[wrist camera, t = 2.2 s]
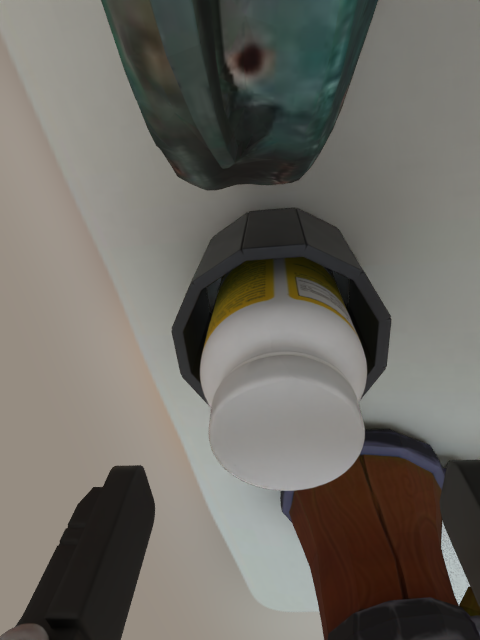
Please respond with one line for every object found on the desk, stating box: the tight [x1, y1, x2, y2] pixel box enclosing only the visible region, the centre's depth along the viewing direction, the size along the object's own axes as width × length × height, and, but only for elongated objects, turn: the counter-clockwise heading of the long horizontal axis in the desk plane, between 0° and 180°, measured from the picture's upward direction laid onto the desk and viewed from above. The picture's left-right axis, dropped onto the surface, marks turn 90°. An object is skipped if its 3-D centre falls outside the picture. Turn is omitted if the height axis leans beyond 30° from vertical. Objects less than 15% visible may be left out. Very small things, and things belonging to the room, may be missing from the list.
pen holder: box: [172, 208, 391, 405], centre depth 18 cm, size 9×9×6 cm
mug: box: [280, 429, 480, 640], centre depth 21 cm, size 18×12×15 cm, turn 104°
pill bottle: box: [200, 257, 367, 491], centre depth 16 cm, size 6×6×11 cm
